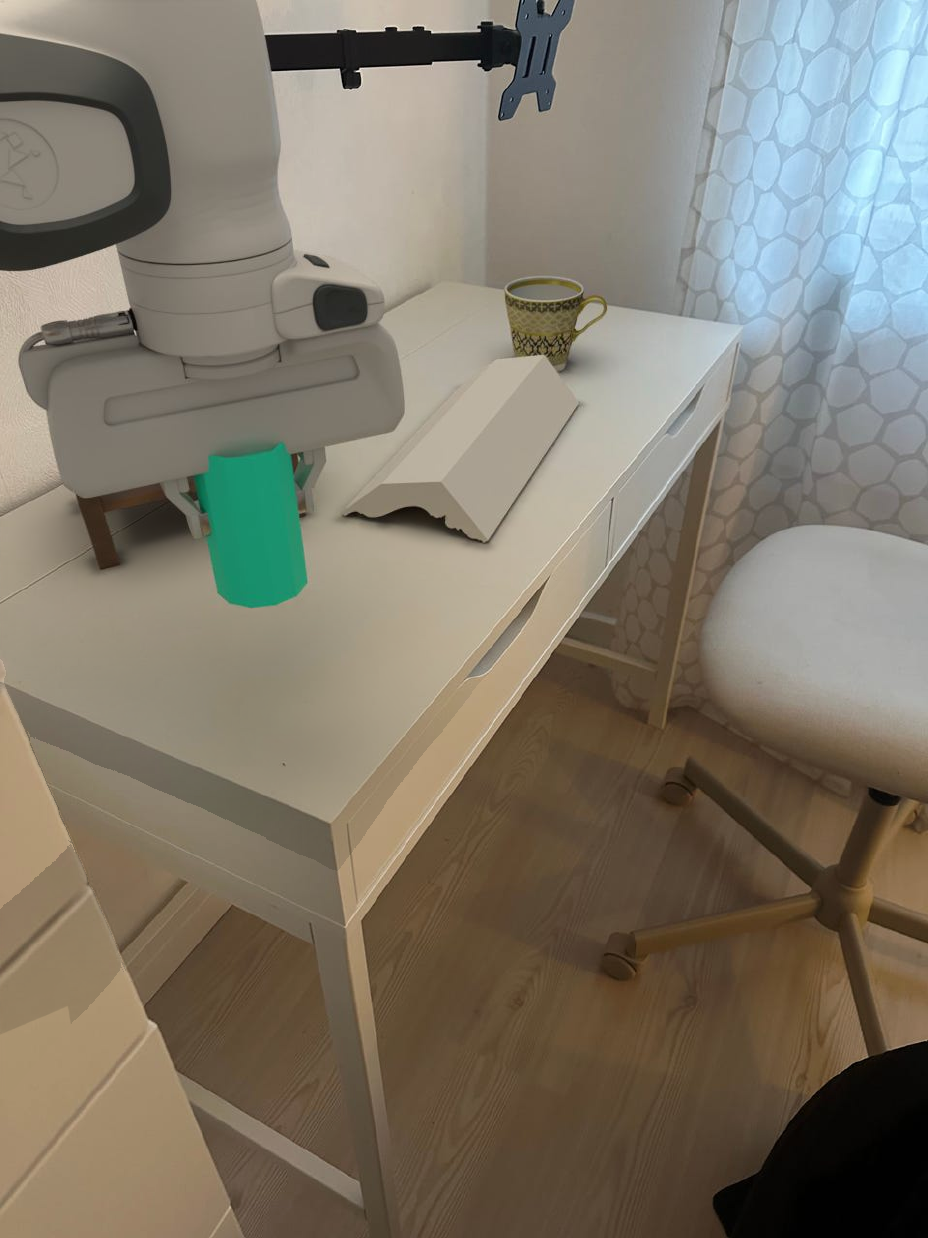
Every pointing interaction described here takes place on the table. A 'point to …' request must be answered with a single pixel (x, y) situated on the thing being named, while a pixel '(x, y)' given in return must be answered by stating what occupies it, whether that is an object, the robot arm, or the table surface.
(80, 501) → the stand
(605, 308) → the ceramic cup
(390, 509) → the molding piece
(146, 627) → the table surface
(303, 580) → the candle
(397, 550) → the table surface
